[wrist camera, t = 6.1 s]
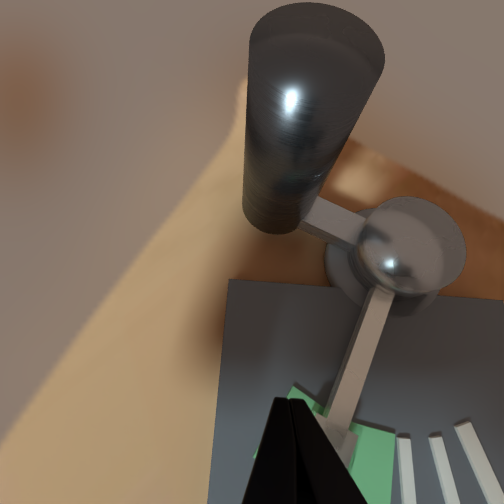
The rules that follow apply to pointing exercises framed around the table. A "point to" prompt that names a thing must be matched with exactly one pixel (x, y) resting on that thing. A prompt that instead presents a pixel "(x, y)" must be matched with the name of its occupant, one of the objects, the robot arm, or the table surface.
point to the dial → (318, 168)
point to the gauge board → (368, 386)
